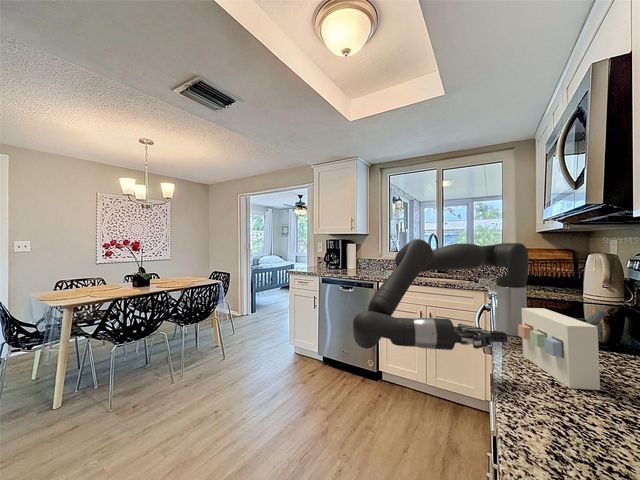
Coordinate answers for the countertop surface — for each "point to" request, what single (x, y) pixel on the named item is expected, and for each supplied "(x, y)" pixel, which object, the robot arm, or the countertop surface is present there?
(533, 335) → the sage button
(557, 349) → the blue button
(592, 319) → the mortar and pestle
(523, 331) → the terracotta button
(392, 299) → the robot arm
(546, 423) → the countertop surface
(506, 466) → the countertop surface
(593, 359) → the control box
